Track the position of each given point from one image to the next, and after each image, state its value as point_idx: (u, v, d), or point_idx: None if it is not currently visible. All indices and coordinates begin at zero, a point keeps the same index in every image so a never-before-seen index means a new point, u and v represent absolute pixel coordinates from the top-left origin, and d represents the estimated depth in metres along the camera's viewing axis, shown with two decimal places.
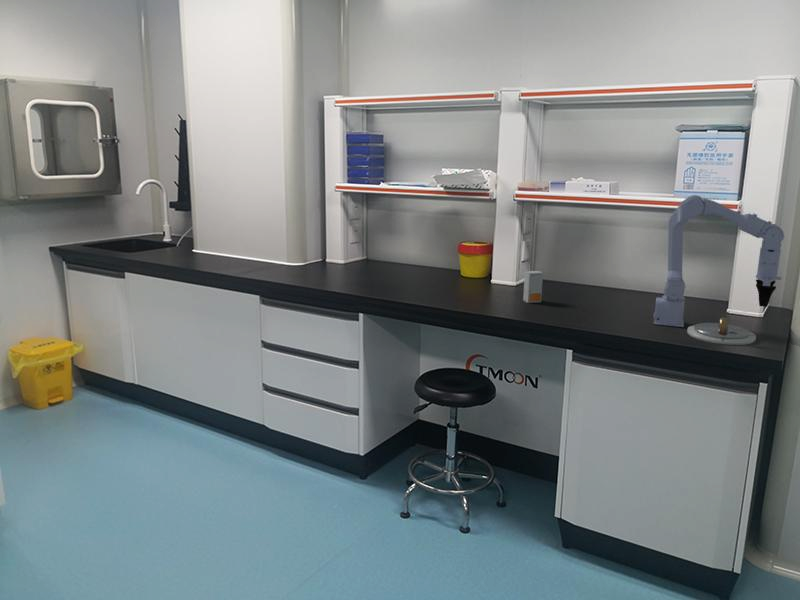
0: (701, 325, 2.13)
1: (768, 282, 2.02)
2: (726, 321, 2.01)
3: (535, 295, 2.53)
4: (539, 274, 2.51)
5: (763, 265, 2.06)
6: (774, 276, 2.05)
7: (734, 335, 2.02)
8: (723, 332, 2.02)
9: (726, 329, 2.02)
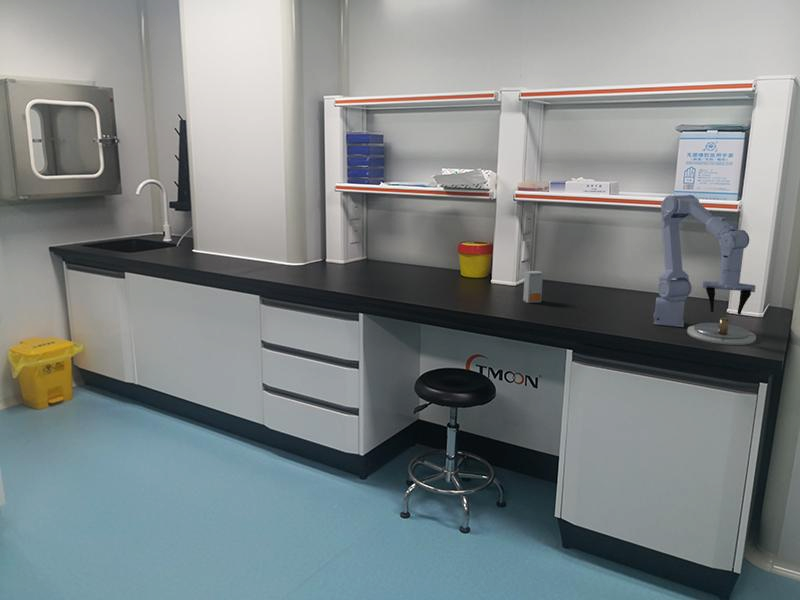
0: (701, 325, 2.13)
1: None
2: (726, 321, 2.01)
3: (535, 295, 2.53)
4: (539, 274, 2.51)
5: None
6: (722, 283, 1.98)
7: (734, 335, 2.02)
8: (723, 332, 2.02)
9: (726, 329, 2.02)
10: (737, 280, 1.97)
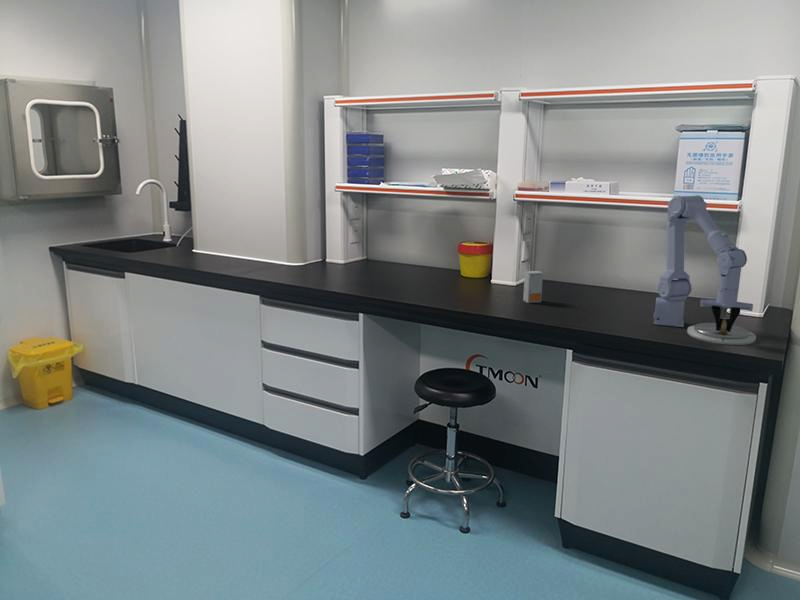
0: (701, 325, 2.13)
1: None
2: (726, 321, 2.01)
3: (535, 295, 2.53)
4: (539, 274, 2.51)
5: None
6: (720, 301, 2.00)
7: (734, 335, 2.02)
8: (723, 332, 2.02)
9: (726, 329, 2.02)
10: (735, 299, 1.98)
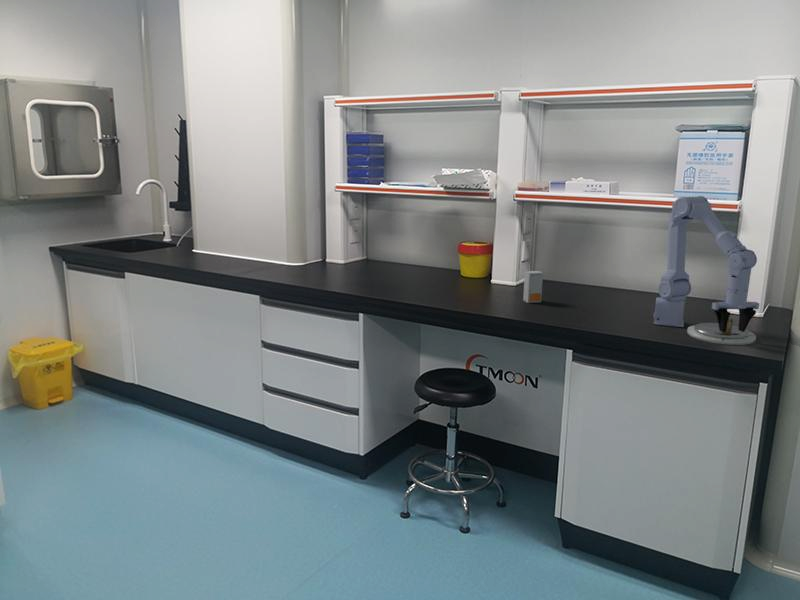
0: (700, 326, 2.12)
1: (714, 305, 2.00)
2: (730, 321, 2.01)
3: (535, 295, 2.53)
4: (539, 274, 2.51)
5: (727, 290, 2.01)
6: (734, 303, 1.98)
7: (737, 335, 2.02)
8: (727, 332, 2.02)
9: (730, 329, 2.01)
10: (746, 299, 1.99)
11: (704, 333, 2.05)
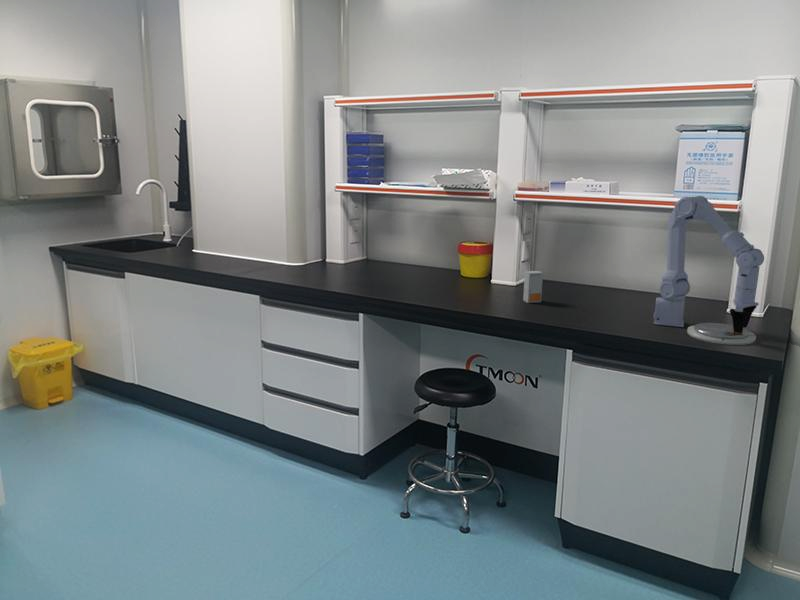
0: (702, 329, 2.08)
1: (740, 308, 1.97)
2: None
3: (535, 295, 2.53)
4: (539, 274, 2.51)
5: (739, 290, 2.01)
6: (750, 302, 2.00)
7: (745, 333, 2.05)
8: (741, 332, 2.02)
9: None
10: None
11: (721, 336, 2.02)
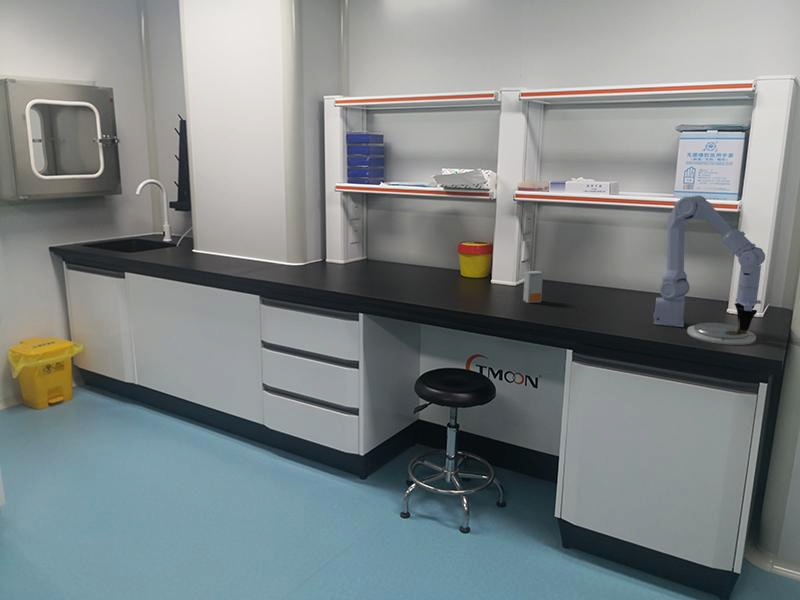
0: (709, 331, 2.06)
1: (750, 307, 1.97)
2: None
3: (535, 295, 2.53)
4: (539, 274, 2.51)
5: (743, 289, 2.01)
6: (754, 300, 2.01)
7: None
8: None
9: None
10: None
11: (734, 337, 2.01)
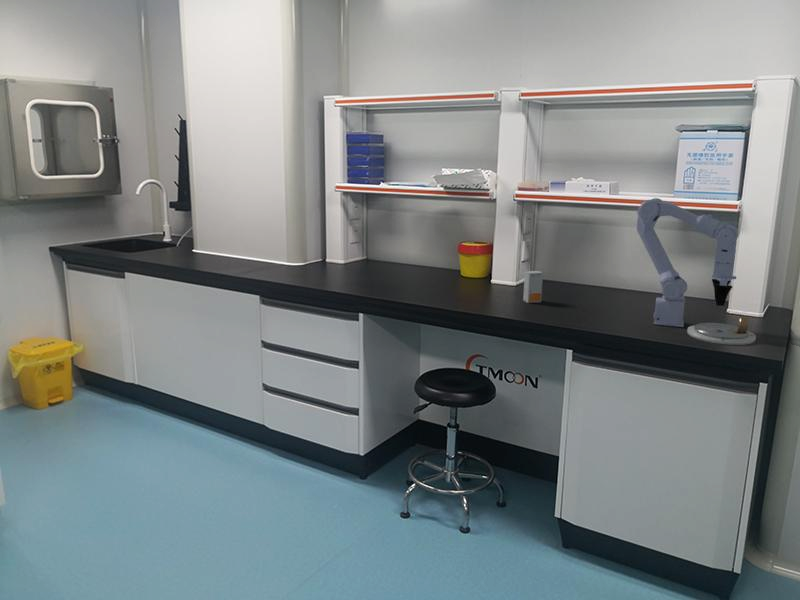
0: (709, 331, 2.06)
1: (725, 282, 2.05)
2: None
3: (535, 295, 2.53)
4: (539, 274, 2.51)
5: (719, 265, 2.09)
6: (730, 276, 2.09)
7: None
8: (746, 330, 2.04)
9: None
10: None
11: (734, 337, 2.01)
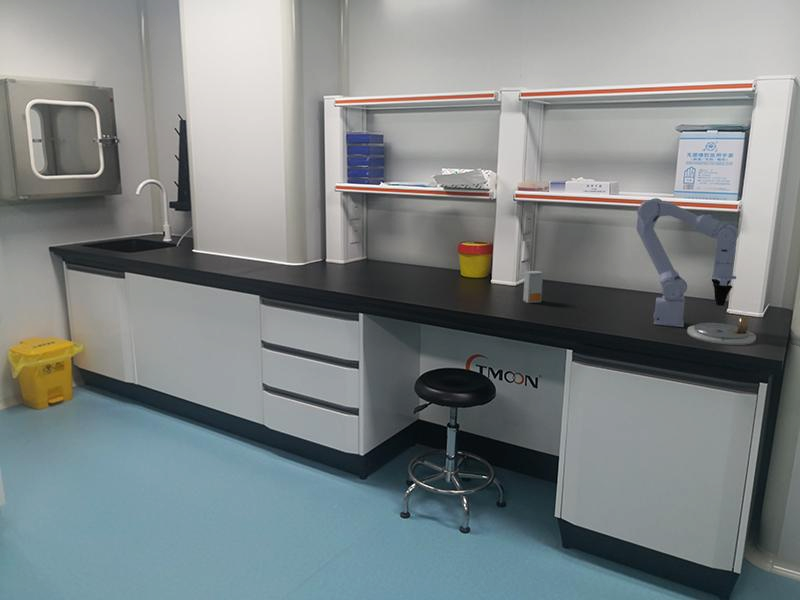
0: (709, 331, 2.06)
1: (725, 282, 2.05)
2: None
3: (535, 295, 2.53)
4: (539, 274, 2.51)
5: (719, 265, 2.09)
6: (730, 275, 2.09)
7: None
8: (746, 330, 2.04)
9: None
10: None
11: (734, 337, 2.01)
